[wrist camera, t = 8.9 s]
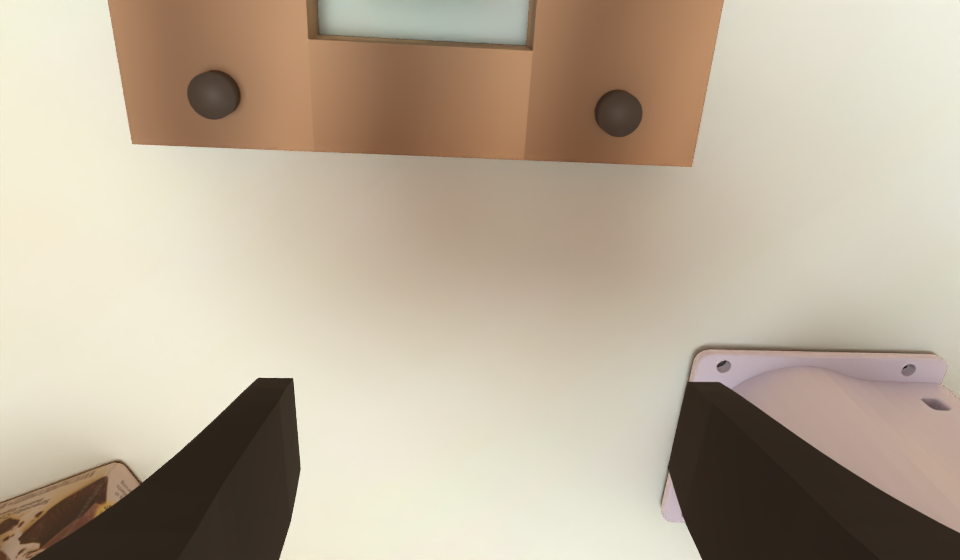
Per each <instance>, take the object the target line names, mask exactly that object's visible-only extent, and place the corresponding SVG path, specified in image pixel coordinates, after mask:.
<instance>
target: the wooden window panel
mask: <svg viewBox="0 0 960 560" xmlns="http://www.w3.org/2000/svg"><path fill="white" fill-rule="evenodd" d="M723 2H724V0H530V2H529V15H528V27H527V40H526V46H523V45H504V44H485V43H465V42H446V41H427V40H408V39H389V38H370V37H351V36H332V35H319V29H318V8H317V0H108V5H109V11H110V17H111V22H112V28H113V34H114V40H115V46H116V52H117V58H118V63H119V69H120V75H121V81H122V87H123V93H124V99H125V105H126V110H127V116H128V122H129V128H130V134H131V140H132V144H142V145H167V146H191V147H216V148H240V149H265V150H290V151H314V152H339V153H364V154H388V155H413V156H438V157H462V158H487V159H512V160H536V161H561V162H586V163H610V164H635V165H659V166H684V167H692V163H693V158H694V152H695V147H696V142H697V137H698V132H699V127H700V121H701V116H702V111H703V106H704V101H705V95H706V90H707V85H708V80H709V75H710V69H711V64H712V59H713V54H714V49H715V44H716V38H717V33H718V28H719V23H720V18H721V12H722V7H723Z"/></svg>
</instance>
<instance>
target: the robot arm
mask: <svg viewBox="0 0 960 560" xmlns="http://www.w3.org/2000/svg"><path fill="white" fill-rule="evenodd" d="M725 360H726V361H727V362H726V363H725V365H723V366H721V367H717V365H718V363H720V362H721V361H725ZM906 365H908V366H907V368H905V369H904V370H902V369H903V368H904V367H905V366H906ZM946 370H947V363H946V362H945V361H944V360H943V359H942V358H940V357H939V356H938V355H934V354H900V353H852V352H805V351H758V350H710V349H709V350H704V351H702V352H700V353H699V354H698V355H697V356H696V357H695V359H694V361H693V366H692V370H691V375H690V379H689V382H687V386H686V391H685V395H684V399H683V404H682V408H681V413H680V417H679V421H678V426H677V430H676V435H675V439H674V443H673V448H672V452H671V457H670V461H669V465H668V470H669V473H668V478H667V482H666V487H665V491H664V496H663V500H662V505H661V512H662V514H663V517H664V518H665V520H667V521H669V522H685V523H686V525H687V527H688V529H689V532H690V534H691V536H692V538H693V540H694V542H695V545H696V547H697V549H698V551H699V553H700V556H701V558H702V560H960V400H959V399H958V398H957V397H956V396H955V395H953V394H952V393H951V392H950V391H948V390H947V389H946V388H945V387H943V386H942V385H941V382H942V380H943V377H944V375H945V373H946ZM300 469H301V468H300V456H299V444H298V432H297V419H296V407H295V395H294V383H293V378H258V379H256V380H255V381H254V382H253V383H252V384H251V385H250V386H249V387H248V388H247V389H246V390H244V391H243V392H242V393H241V394H240V395H239V396H238V397H237V398H236V399H235V400H234V401H233V402H232V403H231V404H230V405H229V406H228V407H227V408H226V409H225V410H224V411H223V412H222V413H221V414H220V415H219V416H218V417H217V418H216V419H214V420H213V421H212V422H211V423H210V424H209V425H208V426H207V427H206V428H205V429H204V430H203V431H202V432H201V433H199V434H198V435H197V436H196V437H195V438H194V439H193V440H192V441H191V442H190V443H188V444H187V445H186V446H185V447H184V448H183V449H182V450H181V451H180V452H179V453H177V454H176V455H175V456H174V457H173V458H172V459H170V460H169V461H168V462H167V463H166V464H164V465H163V466H162V467H161V468H160V469H158V470H157V471H156V472H155V473H154V474H152V475H151V476H150V477H149V478H148V479H146V480H145V481H144V482H143V483H142V484H140V485H139V486H138V487H136V488H135V489H134V490H132V491H131V492H130V493H129V494H127V495H126V496H124V497H123V498H122V499H120V500H119V501H118V502H116V503H115V504H114V505H112V506H111V507H109V508H108V509H107V510H105V511H104V512H102V513H101V514H99V515H98V516H96V517H95V518H94V519H92V520H91V521H89V522H88V523H86V524H85V525H84V526H82V527H81V528H79V529H77V530H76V531H74V532H73V533H71V534H70V535H68V536H67V537H65V538H63V539H62V540H60V541H58V542H57V543H55V544H54V545H52V546H50V547H49V548H47V549H45V550H44V551H42V552H40V553H39V554H37V555H36V556H34V557H32V558H31V559H29V560H279V558H280V554H281V551H282V548H283V545H284V542H285V538H286V535H287V532H288V529H289V525H290V522H291V518H292V513H293V507H294V502H295V497H296V492H297V486H298V480H299V475H300Z"/></svg>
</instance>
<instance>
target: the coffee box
mask: <svg viewBox="0 0 960 560" xmlns="http://www.w3.org/2000/svg"><path fill="white" fill-rule="evenodd" d="M139 485H140V484H139V483H138V481H137V480H136V479H135V478H134V476H133V475H132V474H131V473H130V471H129V470H128V469H127V468H126V466H125V465H123V464H121V463H115V462H114V463H111V464H108V465H105V466H102V467H99V468H96V469H93V470H91V471H88V472H85V473H83V474H80V475H77V476H75V477H72V478H69V479H67V480H64V481H61V482H58V483H56V484H53V485H50V486H48V487H45V488H42V489H39V490H37V491H34V492H31V493H28V494H26V495H23V496H20V497H17V498H15V499H12V500H9V501H6V502H4V503H1V504H0V560H29V559H31V558H32V557H34V556H36V555H37V554H39V553H40V552H42V551H44V550H45V549H47V548H49V547H50V546H52V545H54V544H55V543H57V542H58V541H60V540H62V539H63V538H65V537H67V536H68V535H70V534H71V533H73V532H74V531H76V530H77V529H79V528H81V527H82V526H84V525H85V524H86V523H88V522H89V521H91V520H92V519H94V518H95V517H96V516H98V515H99V514H101V513H102V512H104V511H105V510H107V509H108V508H109V507H111V506H112V505H114V504H115V503H116V502H118V501H119V500H120V499H122V498H123V497H124V496H126V495H127V494H129V493H130V492H131V491H132V490H134V489H135V488H136V487H138V486H139Z"/></svg>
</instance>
